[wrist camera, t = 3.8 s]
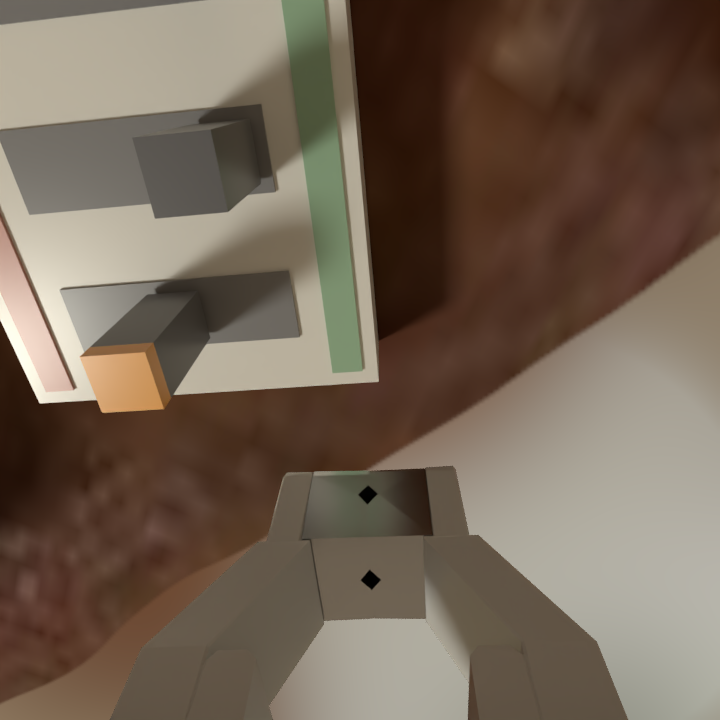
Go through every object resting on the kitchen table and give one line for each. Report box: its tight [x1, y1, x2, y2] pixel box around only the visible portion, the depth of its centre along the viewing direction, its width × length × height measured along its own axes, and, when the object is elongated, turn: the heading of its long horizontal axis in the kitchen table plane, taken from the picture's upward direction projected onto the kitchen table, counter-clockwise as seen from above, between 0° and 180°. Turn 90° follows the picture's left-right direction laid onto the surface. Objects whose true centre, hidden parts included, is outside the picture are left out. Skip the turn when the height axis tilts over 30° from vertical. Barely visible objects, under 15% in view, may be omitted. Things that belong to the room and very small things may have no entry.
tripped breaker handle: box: [80, 291, 210, 413], centre depth 14 cm, size 2×2×4 cm
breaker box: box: [0, 0, 379, 403], centre depth 14 cm, size 15×12×7 cm
